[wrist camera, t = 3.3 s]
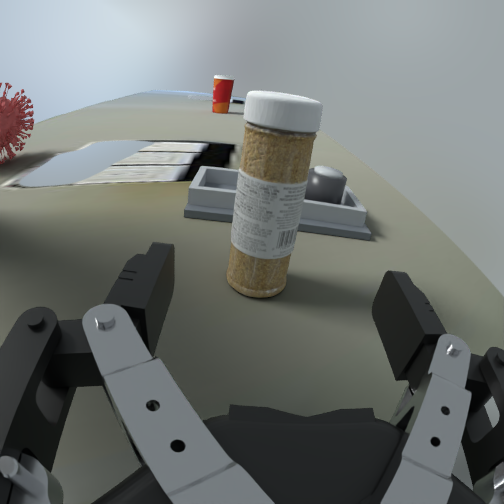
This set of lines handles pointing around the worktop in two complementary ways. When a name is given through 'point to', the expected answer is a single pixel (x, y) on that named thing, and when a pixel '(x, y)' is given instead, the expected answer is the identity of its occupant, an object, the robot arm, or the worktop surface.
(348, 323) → the worktop surface
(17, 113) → the virus model
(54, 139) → the worktop surface
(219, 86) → the paper cup
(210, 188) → the grey flat tray
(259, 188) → the sprinkles bottle
